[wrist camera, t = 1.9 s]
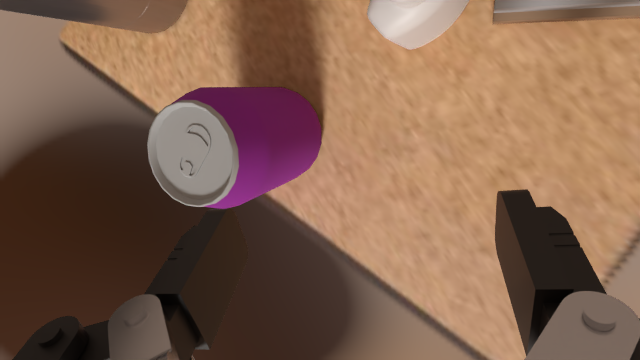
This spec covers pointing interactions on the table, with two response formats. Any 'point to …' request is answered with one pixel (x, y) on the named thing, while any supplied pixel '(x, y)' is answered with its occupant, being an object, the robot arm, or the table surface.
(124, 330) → the robot arm
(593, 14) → the grey square tray
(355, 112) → the table surface
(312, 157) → the beverage can
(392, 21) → the eye dropper bottle
